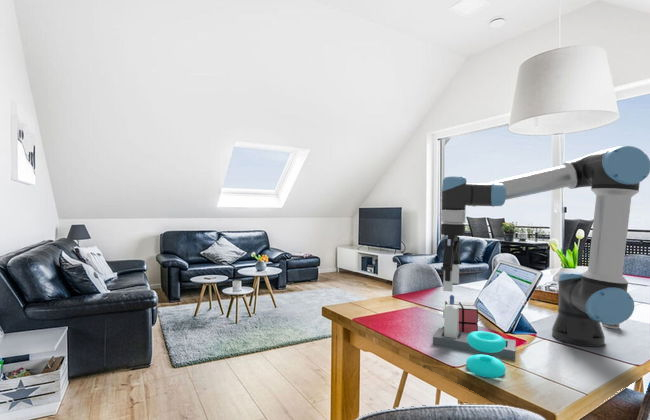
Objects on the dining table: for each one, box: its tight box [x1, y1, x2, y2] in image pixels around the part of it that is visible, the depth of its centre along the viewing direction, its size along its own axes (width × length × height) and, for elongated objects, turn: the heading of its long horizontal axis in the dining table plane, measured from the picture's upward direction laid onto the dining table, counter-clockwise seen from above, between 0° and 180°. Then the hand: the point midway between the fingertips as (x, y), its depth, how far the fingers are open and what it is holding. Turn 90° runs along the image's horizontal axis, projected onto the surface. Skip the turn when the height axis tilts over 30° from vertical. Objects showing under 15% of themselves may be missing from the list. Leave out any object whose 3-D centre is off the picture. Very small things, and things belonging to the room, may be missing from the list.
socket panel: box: [432, 327, 517, 361], centre depth 119 cm, size 24×10×3 cm, turn 62°
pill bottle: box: [601, 323, 621, 329], centre depth 142 cm, size 5×5×10 cm
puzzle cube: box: [444, 300, 479, 333], centre depth 134 cm, size 10×10×10 cm
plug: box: [442, 294, 459, 339], centre depth 122 cm, size 5×4×16 cm
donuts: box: [465, 330, 506, 379], centre depth 102 cm, size 10×10×10 cm
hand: (451, 287), depth 122 cm, fingers open, 13 cm apart
